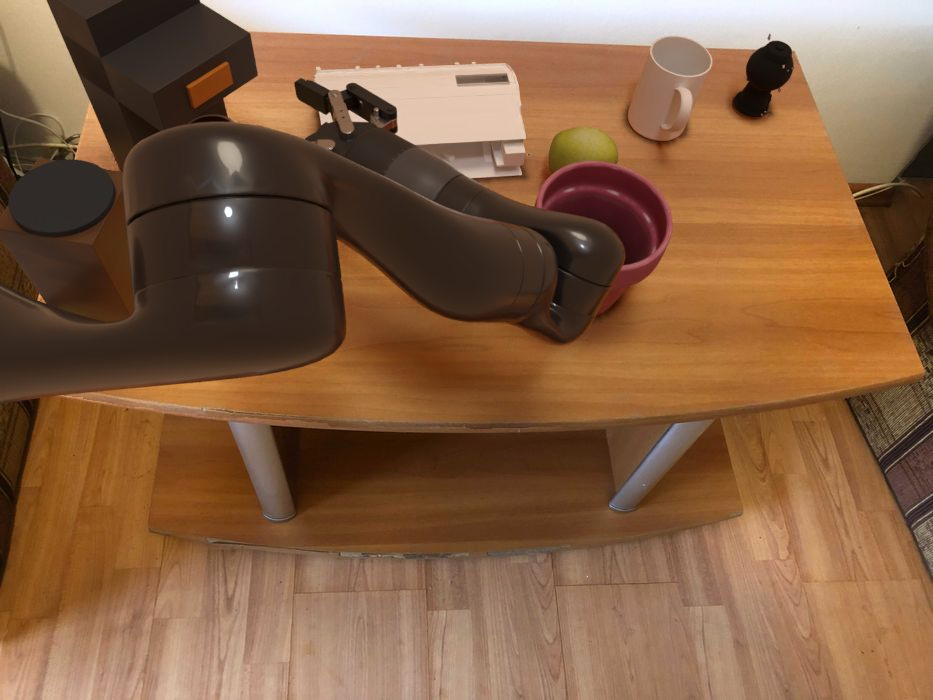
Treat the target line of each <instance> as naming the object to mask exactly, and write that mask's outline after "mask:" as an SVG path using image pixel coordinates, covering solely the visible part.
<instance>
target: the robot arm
mask: <svg viewBox="0 0 933 700" xmlns="http://www.w3.org/2000/svg"><path fill="white" fill-rule="evenodd" d="M314 81H315V80H310V79H304V78H302V77H299V78H298V79H297V80H296V81H294V83H293V85H294V90H295V96H296V98H297V100H299V102H302V103H303V104H304V105H307V106H308V107H310V108H312V109H314V110H316V111H318V113H319V112H321V113H323V114H325V115H327V114H328V113H331V117H332V120H333V122H330V123H327V122H325V123H324V124H323V125H321V124H320V126H319V127H318V128H317V130H316V131H315V132H314V133H311V134H309V135H308V136H307V137H305V138H302V137H300V136H297V135H294V134H290V133H288V132H285V131H281V130H278V129H274V128H269V127H267V126H262V125H257V124H249V123H243V122H236V121H234V122H198V123H191V124H184V125H180V126H176V127H172V128H169V129H165V130H162V131H159V132H157V133H155V134H153V135H151V136H149V137H147V138H145V139H143V140H142V141H140V142H139V143H137V144H136V145H135V146H134V147H133V148H132V149H131V151H130V152H129V154H128V156H127V158H126V160H125V162H124V166H123V186H122V189H123V203H124V214H125V226H126V230H127V243H128V252H129V262H130V271H131V280H132V290H133V301H134V311H133V313H132V314H131V315H130V316H128V317H127V318H125V319H122V320H119V321H112V322H106V321H100V320H96V319H92V318H89V317H85V316H81V315H78V314H74V313H71V312H68V311H65V310H62V309H60V308H57V307H54V306H51V305H49V304H46V302H44V301H41V300H38V299H35V298H33V297H31V296H30V295H29V296H28V295H26V294H24V293H22V292H20V291H18V290H17V289H14V288H12V287H11V286H9V285H6V284H4V283H2V282H1V281H0V405H4V404H5V405H6V404H12V403H16V402H23V401H29V400H36V399H41V398H42V399H43V398H50V397H51V398H52V397H59V396H67V395H78V394H87V393H98V392H108V391H120V390H121V391H122V390H129V389H139V388H141V389H142V388H149V387H150V388H152V387H162V386H173V385H184V384H185V385H186V384H194V383H205V382H217V381H225V380H235V379H243V378H253V377H258V376H265V375H266V376H267V375H272V374H277V373H283V372H287V371H290V370H296V369H300V368H303V367H307V366H309V365H312V364H315V363H318V362H321V361H322V360H324V359H326V358H328V357H330V356H332V355H333V354H334V353H336V351H337V350H339V349H340V348H341V346H342V345H343V343H344V342H345V339H346V336H347V313H346V304H345V295H344V286H343V285H344V284H343V280H342V277H343V276H342V269H341V262H340V253H339V245H338V244H339V243H338V242H340V243H342V244H343V245H344V246H347V248H349V249H351V250H352V251H354V252H355V253H356V254H358V255H360V256H361V257H362V258H363V259H365V260H366V261H367V262H368V263H370V264H371V265H372V266H373V267H375V268H376V269H377V270H378V271H379V272H381V274H383V275H384V276H385V277H386V278H388V279H389V280H390V281H391V282H392V283H393V284H394V285H395V286H396V287H397V288H398V289H400V290H401V291H402V292H403V293H404V294H406V295H407V296H408V297H409V298H410V299H412V300H413V301H414V302H416V303H417V304H419V305H420V306H421V307H422V308H425V309H426V310H427V311H429V312H431V313H434V314H435V315H438V316H439V317H442V318H445V319H448V320H451V321H455V322H461V323H470V324H471V323H473V324H475V323H477V324H478V323H479V324H480V323H482V324H483V323H484V324H487V323H491V324H508V325H510V326H514V327H517V328H519V329H521V330H523V331H524V332H526V333H528V334H529V335H531V336H532V337H534V338H536V339H537V340H540V341H541V342H544V343H547V344H549V345H553V346H559V347H560V346H561V347H562V346H567V345H570V344H573V343H575V342H576V341H578V340H580V338H582V337H583V336H584V335H585V334H586V333H587V332H588V330H589V329H590V327H591V326H592V324H593V322H594V320H595V318H596V316H597V315H596V314H597V312H598V311H599V309H600V307H601V305H602V303H603V301H604V300H605V298H606V296H607V294H608V292H609V291H610V289H611V286H612V285H613V283H614V281H615V280H616V278H617V276H618V274H619V272H620V270H621V269H622V267H623V264H624V261H625V249H624V246H623V243H622V241H621V240H620V238H619V236H618V235H617V234H616V233H615V232H614V231H613V230H612V229H611V228H610V227H609V226H607V225H606V224H604V223H602V222H600V221H597V220H595V219H591V218H587V217H583V216H578V215H573V214H568V213H562V212H556V211H551V210H546V209H542V208H537V207H534V206H535V205H534V206H533V205H530V204H527V203H523V202H521V201H518V200H515V199H513V198H509V197H507V196H505V195H503V194H501V193H499V192H497V191H495V190H493V189H491V188H489V187H487V186H485V185H483V184H482V183H480V182H478V181H477V180H474V179H473V178H469V177H467V176H465V175H464V174H462V173H460V172H459V171H458V170H456V169H455V168H454V167H452V166H451V165H450V164H448V163H447V162H445V161H444V160H442V159H440V158H438V157H436V156H435V155H433V154H431V153H429V152H427V151H425V150H423V149H422V148H420V147H418V146H416V145H414V144H412V143H410V142H409V141H407V140H405V139H403V138H401V137H399V136H397V135H396V134H395V133H397V131H398V123H397V108H396V107H395V106H393V105H392V104H390V103H388V102H387V101H385V100H383V99H382V98H380V97H378V96H377V95H375V94H373V93H371V92H370V91H368V90H366V89H365V88H363V87H361V86H360V85H358V84H356V83H349V84H347V85H346V89H345V90H343V91H338V90H329V89H327V88H325V87H323V86H321V85H319V84H317V83H316V82H314ZM360 101H361V102H362V103H361V102H360ZM349 110H350V111H351V112H353V113H355V114H356V115H358V116H360V117H361V118H363V119H365V120H366V121H368V122H352V121H351V118H350V115H349V113H348V111H349Z"/></svg>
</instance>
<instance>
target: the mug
mask: <svg viewBox="0 0 933 700" xmlns="http://www.w3.org/2000/svg"><path fill="white" fill-rule="evenodd" d="M712 66H713V57H712V55H711V52H710V51H709V50H708V49H707V47H705V46H704V45H703V44H701V43H700V42H698V41H696V40H695V39H692V38H689V37H687V36H681V35H667V36H661V37H659V38H657V39H656V40H655V41H653V43H652V44H651V46H650V48H649V50H648V54H647V57H646V59H645V62H644V65H643V67H642V71H641V73H640V76H639V80H638V82H637V85H636V88H635V91H634V94H633V96H632V99H631V102H630V105H629V108H628V110H627V120H628V123H629V125H630V126H631V128H632V129H633V131H635V132H636V133H637V134H638V135H641V136H642V137H644V138H646V139H648V140H650V141H658V142H668V141H671V140H675V139H676V138H678V137H680V135H682V133H683V132H684V130H685V128H686V126H687V124H688V122H689V119H690V117H691V114H692V112H693V110H694V107H695V106H696V103H697V100H698V99H699V96H700V94H701V92H702V89H703V87H704V85H705V83H706V81H707V78H708V76H709V73H710V71H711V69H712Z"/></svg>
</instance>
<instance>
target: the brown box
mask: <svg viewBox="0 0 933 700" xmlns="http://www.w3.org/2000/svg"><path fill="white" fill-rule="evenodd" d="M53 161H56V160H54V159H48V158H44V157H38V158H37V160H36V161H35V163H34V164H33V166H32V167H31V168H30V170H29V171H31V170H32V169H34V168H36V167H38V166H41V165H43V164H46V163H49V162H53ZM103 169H104V170H105V171H106V172H107V173H108V175H109V176H110V178H111V179H112V181H113V184H114V187H115V192H116V194H115V201H114V204H113V206H112V208H111V210H110V211H109V213H108V214H107V215H106V216H105V217H104V218H103V219H102V220H101V221H100V222H98V223H97V224H96V225H94V226H92V227H91V228H89V229H87V230H84V231H82V232H79V233H76V234H73V235H68V236H61V237H47V236H40V235H36V234H33V233H31V232H29V231H27V230H25V229H23V228H22V227H21V226H20V225H19V224H18V223H17V222H16V221H15V219H14V218H13V216H12V215H11V213H10V210H9V204H7V206H6V208H5V209H4V211H3V213H1V215H0V239H1V241H2V242H3V244H4V245H5V247H6V248H7V249H8V252H10V254H11V255H12V257H13V258H14V259H15V261H16V262H17V264H18V265H19V267H20V268H21V270H22V271H23V273H24V274H25V275H26V277H27V278H28V280H29V281H30V282H31V284H32V286H33V287H34V288H35V289H36V291H37V293H38V294H39V295H40V297H41V298H42V300H43V302H44V303H46V304H49V305H51V306H54V307H57V308H60V309H62V310H65V311H68V312H71V313H74V314H78V315H81V316H85V317H89V318H92V319H96V320H100V321H106V322H112V321H119V320H122V319H125V318H127V317H128V316H130V315H131V314H132V313H133V311H134V301H133V290H132V280H131V271H130V262H129V252H128V243H127V230H126V226H125V214H124V203H123V189H122V186H123V172H120V170H113V169H108V168H107V169H106V168H103Z"/></svg>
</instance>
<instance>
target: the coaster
mask: <svg viewBox="0 0 933 700" xmlns="http://www.w3.org/2000/svg"><path fill="white" fill-rule="evenodd" d="M31 169H32V168H31ZM31 169H30V170H31ZM104 169H105V168H102V167H101V166H99V165H98V164H95V163H94V162H91V161H88V160H87V161H86V160H82V159H73V158H71V159H69V158H68V159H59V160H55V161H53V162H49V163H46V164H43V165H41V166H38V167H36V168H34V169H32V170H31V171H30V170H29V171H28V172H26V173H25V174H24V175H23V176H21V177H20V178H19V179H18V180H17V181H16V182H15V184H14V185H13V187H12V188H11V189H10V190H11V191H10V192H9V196H8V205H9V210H10V213H11V215H12V216H13V218H14V219H15V221H16V222H17V223H18V224H19V225H20V226H21V227H22V228H23V229H25V230H27V231H29V232H31V233H33V234H36V235H40V236H47V237H61V236H68V235H73V234H76V233H79V232H82V231H84V230H87V229H89V228H91V227H92V226H94V225H96V224H97V223H98V222H100V221H101V220H102V219H103V218H104V217H105V216H106V215H107V214H108V213H109V211H110V210H111V208H112V206H113V204H114V201H115V194H116V192H115V187H114V184H113V181H112V179H111V178H110V176H109V175H108V173H107V172H106V171H105V170H104Z"/></svg>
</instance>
